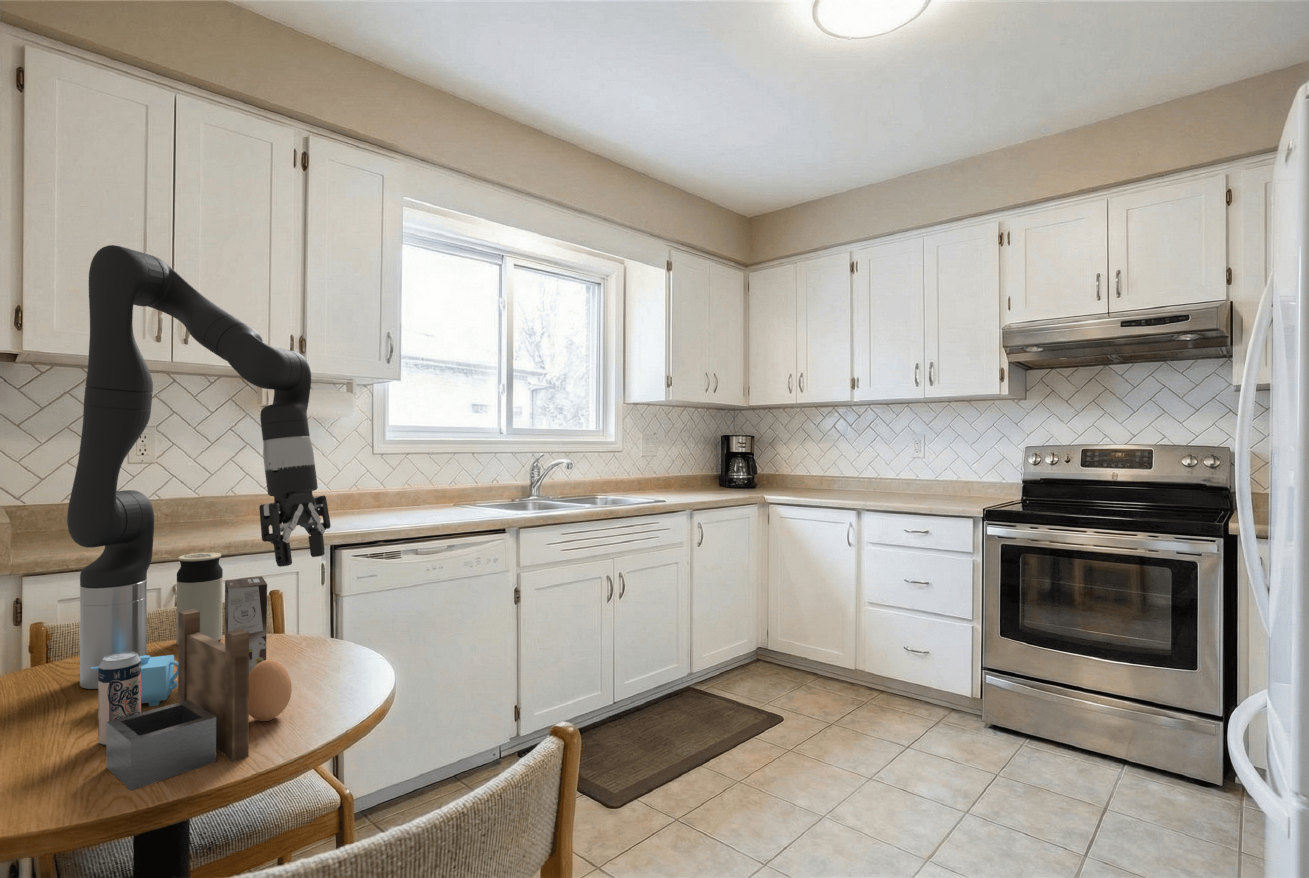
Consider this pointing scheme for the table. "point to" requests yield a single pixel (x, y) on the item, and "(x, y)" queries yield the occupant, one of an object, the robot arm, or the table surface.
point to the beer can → (118, 689)
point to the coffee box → (248, 613)
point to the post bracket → (160, 743)
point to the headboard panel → (216, 681)
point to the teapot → (156, 678)
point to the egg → (268, 690)
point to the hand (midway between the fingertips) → (301, 560)
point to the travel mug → (201, 590)
